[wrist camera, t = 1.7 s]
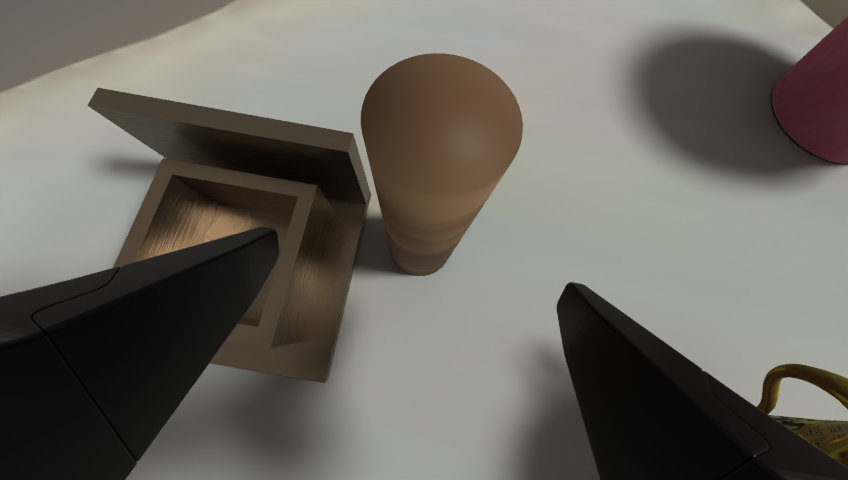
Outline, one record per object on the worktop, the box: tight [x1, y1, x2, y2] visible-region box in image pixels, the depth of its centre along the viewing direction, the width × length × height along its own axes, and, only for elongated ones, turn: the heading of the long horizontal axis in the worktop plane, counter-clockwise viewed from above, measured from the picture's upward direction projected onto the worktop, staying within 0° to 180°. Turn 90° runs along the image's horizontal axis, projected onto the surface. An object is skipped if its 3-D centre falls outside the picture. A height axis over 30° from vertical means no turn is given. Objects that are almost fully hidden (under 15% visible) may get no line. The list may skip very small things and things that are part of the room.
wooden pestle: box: [361, 53, 523, 276], centre depth 14 cm, size 4×4×13 cm
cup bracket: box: [88, 88, 371, 383], centre depth 16 cm, size 12×12×7 cm
